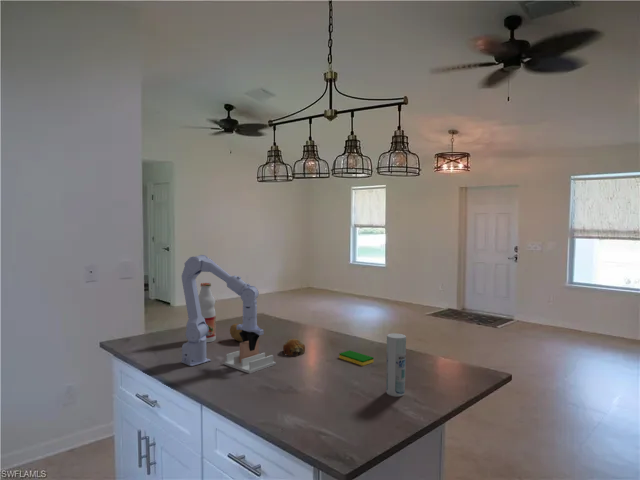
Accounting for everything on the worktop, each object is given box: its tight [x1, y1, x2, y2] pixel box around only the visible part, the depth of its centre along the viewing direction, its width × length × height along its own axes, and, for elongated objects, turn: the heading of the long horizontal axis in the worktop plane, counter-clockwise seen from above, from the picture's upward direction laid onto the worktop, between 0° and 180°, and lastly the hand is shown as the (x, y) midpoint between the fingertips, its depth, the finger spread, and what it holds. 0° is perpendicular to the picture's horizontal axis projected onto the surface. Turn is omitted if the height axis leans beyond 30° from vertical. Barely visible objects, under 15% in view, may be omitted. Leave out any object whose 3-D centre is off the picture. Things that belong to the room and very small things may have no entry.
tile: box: [239, 339, 260, 363], centre depth 179 cm, size 8×2×8 cm, turn 140°
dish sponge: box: [338, 350, 375, 367], centre depth 186 cm, size 7×14×2 cm, turn 43°
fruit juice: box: [198, 282, 217, 344], centre depth 213 cm, size 9×9×28 cm
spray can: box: [385, 332, 407, 398], centre depth 151 cm, size 6×6×20 cm
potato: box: [229, 323, 243, 343], centre depth 213 cm, size 10×14×8 cm
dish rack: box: [223, 350, 277, 374], centre depth 179 cm, size 14×16×4 cm
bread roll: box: [282, 338, 306, 357], centre depth 196 cm, size 10×10×8 cm
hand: (249, 349), depth 179 cm, fingers closed on tile, 2 cm apart
